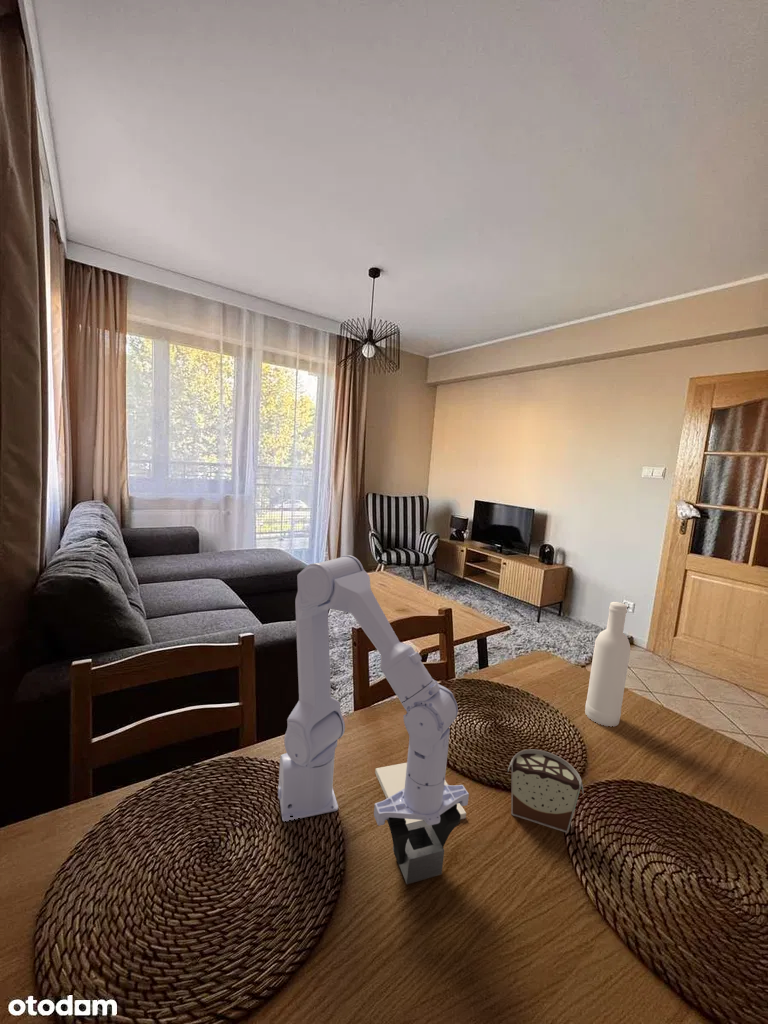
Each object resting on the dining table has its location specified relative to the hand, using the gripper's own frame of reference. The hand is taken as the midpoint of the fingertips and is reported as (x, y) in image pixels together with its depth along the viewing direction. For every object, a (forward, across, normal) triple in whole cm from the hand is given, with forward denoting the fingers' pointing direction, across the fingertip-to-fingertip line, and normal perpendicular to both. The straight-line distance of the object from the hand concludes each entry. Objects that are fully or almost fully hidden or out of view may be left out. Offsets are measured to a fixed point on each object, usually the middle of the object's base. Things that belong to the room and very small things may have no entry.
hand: (417, 853), depth 64 cm
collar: (+1, 0, 0) cm, 1 cm away
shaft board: (+2, +6, +13) cm, 14 cm away
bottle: (+2, +62, +24) cm, 67 cm away
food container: (+3, +26, +4) cm, 27 cm away
